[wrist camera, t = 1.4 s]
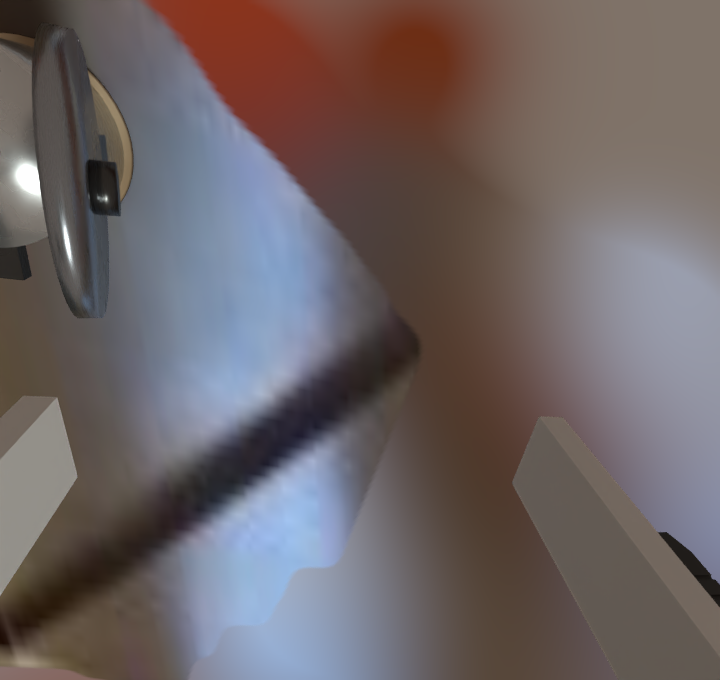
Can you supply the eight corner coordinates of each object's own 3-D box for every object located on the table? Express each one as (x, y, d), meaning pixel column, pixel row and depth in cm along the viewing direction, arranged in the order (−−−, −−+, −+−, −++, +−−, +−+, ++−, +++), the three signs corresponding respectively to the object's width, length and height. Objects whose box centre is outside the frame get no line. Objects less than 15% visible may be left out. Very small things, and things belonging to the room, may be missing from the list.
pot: (-27, 242, 36) (-107, 272, 29) (-96, -26, 28) (-232, -74, 21) (143, 262, 39) (106, 294, 32) (125, 20, 30) (70, -8, 23)
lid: (71, 368, 20) (124, 364, 21) (5, -3, 13) (86, 16, 14) (98, 263, 31) (132, 264, 32) (70, 38, 25) (113, 47, 26)
